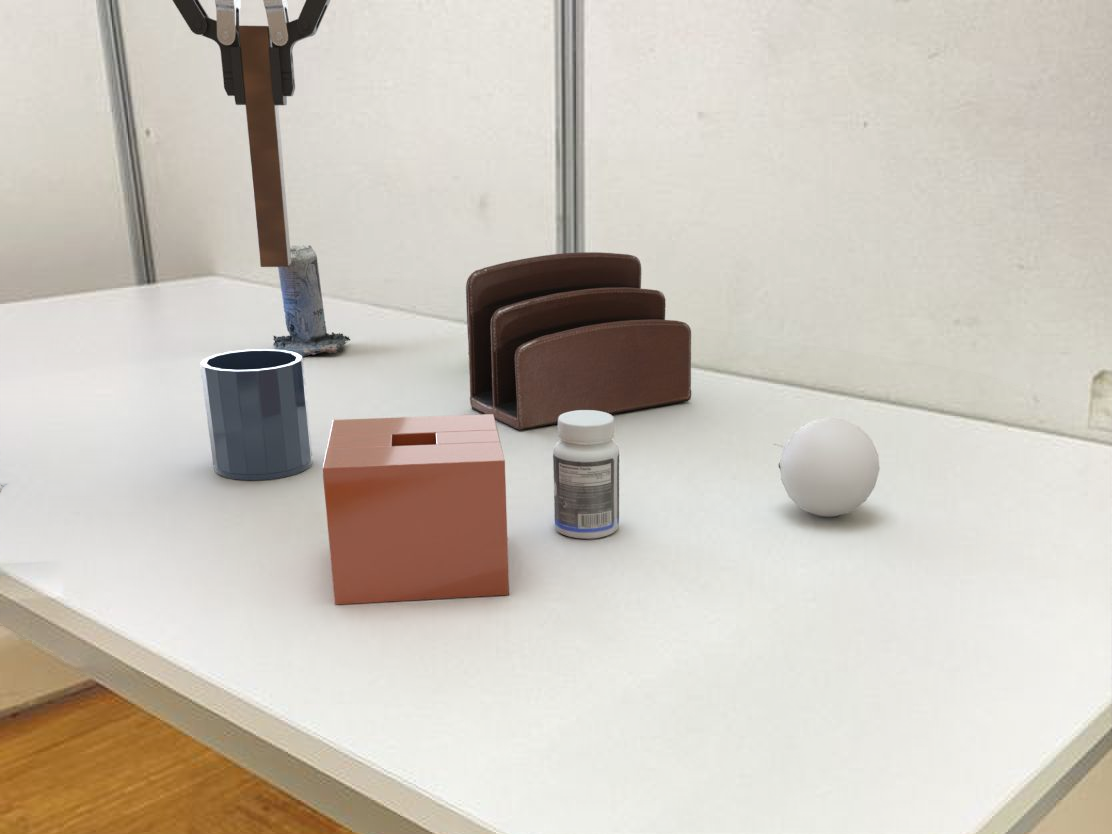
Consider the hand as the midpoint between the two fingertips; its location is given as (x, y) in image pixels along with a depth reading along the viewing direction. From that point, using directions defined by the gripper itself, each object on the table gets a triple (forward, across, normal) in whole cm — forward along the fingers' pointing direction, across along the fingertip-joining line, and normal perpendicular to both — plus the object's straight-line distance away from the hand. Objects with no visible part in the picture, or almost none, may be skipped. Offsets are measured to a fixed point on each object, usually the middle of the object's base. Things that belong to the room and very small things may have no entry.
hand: (261, 103), depth 88 cm
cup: (+29, +3, -8) cm, 30 cm away
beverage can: (+28, +4, -53) cm, 60 cm away
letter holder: (+28, -25, -24) cm, 45 cm away
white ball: (+28, -40, +8) cm, 50 cm away
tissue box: (+29, -10, +17) cm, 35 cm away
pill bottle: (+29, -22, +11) cm, 38 cm away
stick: (+11, 0, 0) cm, 11 cm away
